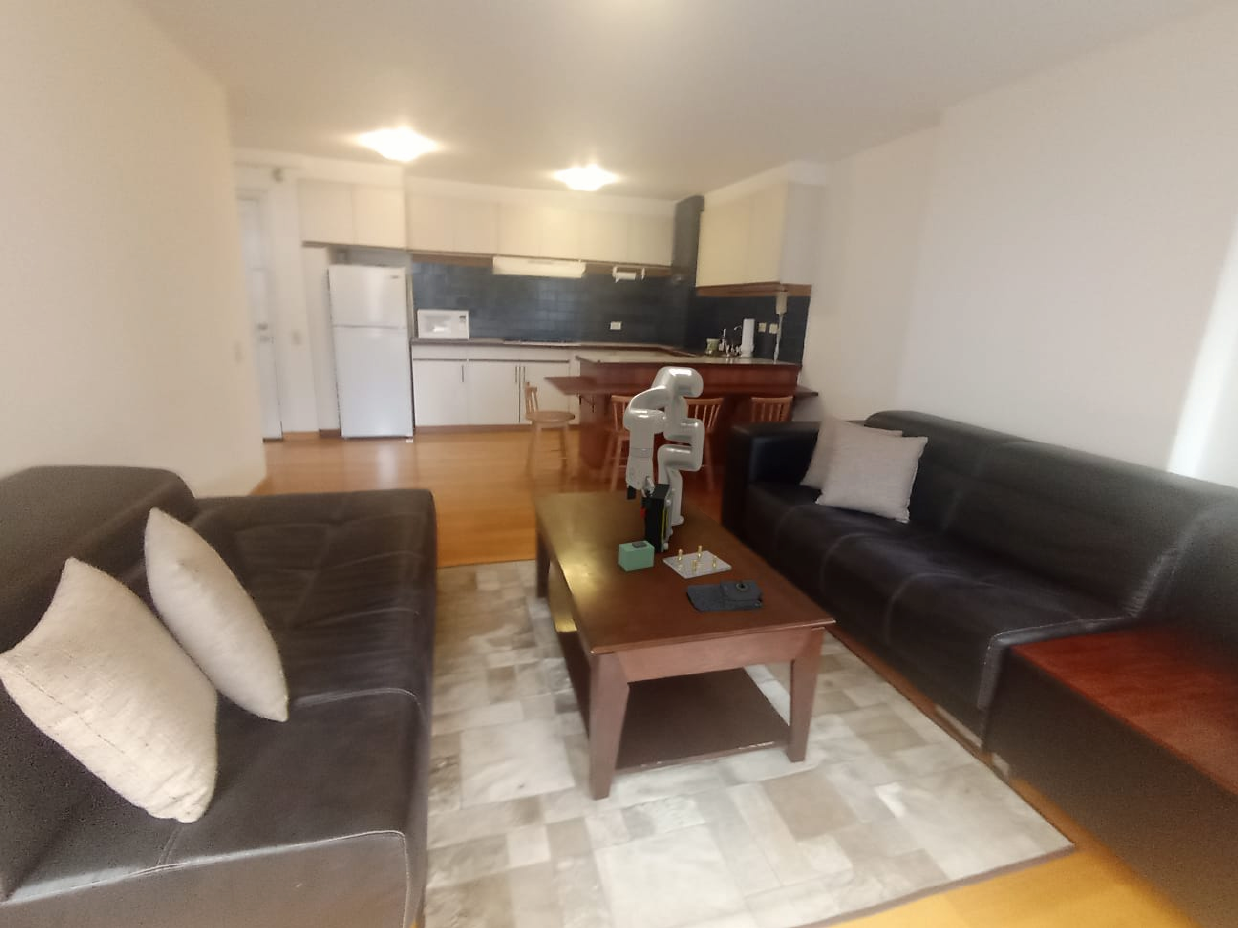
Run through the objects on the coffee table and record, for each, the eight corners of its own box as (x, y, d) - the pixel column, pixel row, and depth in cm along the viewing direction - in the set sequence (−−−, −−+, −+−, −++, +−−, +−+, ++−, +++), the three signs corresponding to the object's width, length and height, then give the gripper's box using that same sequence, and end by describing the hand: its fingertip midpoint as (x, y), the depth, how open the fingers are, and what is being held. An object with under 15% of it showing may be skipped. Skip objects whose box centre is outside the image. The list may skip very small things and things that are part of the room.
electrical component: (667, 553, 202) (670, 499, 197) (638, 550, 204) (641, 496, 199) (672, 535, 219) (675, 485, 214) (646, 532, 221) (648, 482, 216)
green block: (618, 564, 193) (619, 542, 191) (644, 559, 197) (645, 538, 195) (626, 571, 188) (627, 549, 186) (653, 566, 192) (654, 545, 190)
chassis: (663, 561, 196) (663, 549, 195) (706, 553, 204) (707, 541, 203) (685, 578, 184) (686, 565, 183) (731, 569, 192) (732, 556, 191)
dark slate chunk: (681, 589, 178) (682, 575, 177) (748, 585, 182) (749, 572, 181) (696, 614, 163) (697, 599, 162) (769, 610, 167) (770, 595, 166)
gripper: (618, 447, 188) (616, 497, 192) (644, 459, 173) (641, 513, 177) (638, 445, 191) (635, 494, 196) (665, 457, 176) (662, 510, 181)
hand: (638, 503), depth 186 cm, fingers open, 9 cm apart
